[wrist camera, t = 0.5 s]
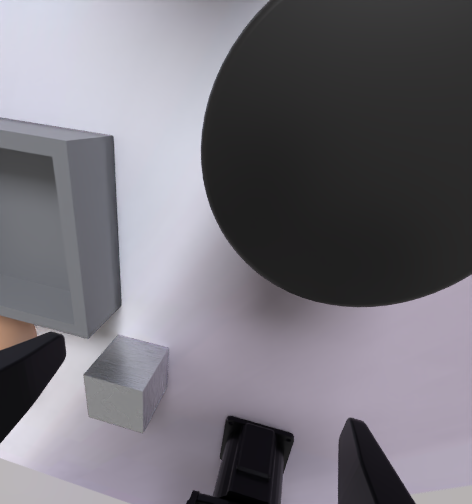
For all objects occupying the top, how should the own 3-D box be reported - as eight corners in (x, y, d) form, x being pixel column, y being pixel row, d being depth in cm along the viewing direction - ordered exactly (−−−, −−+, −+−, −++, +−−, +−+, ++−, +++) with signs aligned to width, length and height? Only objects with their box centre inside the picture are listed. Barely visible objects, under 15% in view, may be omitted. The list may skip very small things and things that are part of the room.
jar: (282, 222, 21) (255, 339, 10) (234, 99, 18) (129, 79, 7) (430, 171, 18) (622, 262, 7) (395, 16, 15) (609, -224, 4)
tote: (121, 305, 27) (88, 338, 23) (-16, 271, 29) (-69, 297, 25) (113, 135, 21) (65, 140, 17) (-60, 107, 23) (-140, 106, 19)
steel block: (167, 385, 30) (143, 433, 25) (120, 372, 31) (88, 417, 26) (169, 347, 28) (142, 391, 23) (118, 333, 28) (83, 374, 24)
